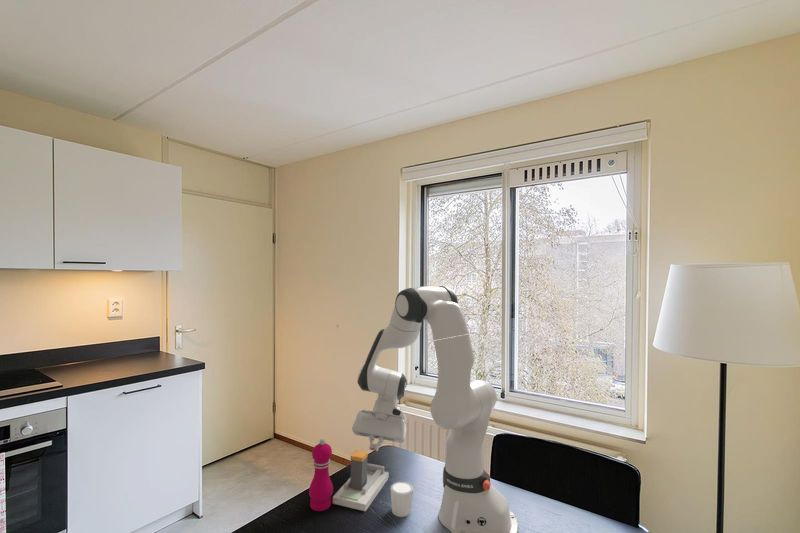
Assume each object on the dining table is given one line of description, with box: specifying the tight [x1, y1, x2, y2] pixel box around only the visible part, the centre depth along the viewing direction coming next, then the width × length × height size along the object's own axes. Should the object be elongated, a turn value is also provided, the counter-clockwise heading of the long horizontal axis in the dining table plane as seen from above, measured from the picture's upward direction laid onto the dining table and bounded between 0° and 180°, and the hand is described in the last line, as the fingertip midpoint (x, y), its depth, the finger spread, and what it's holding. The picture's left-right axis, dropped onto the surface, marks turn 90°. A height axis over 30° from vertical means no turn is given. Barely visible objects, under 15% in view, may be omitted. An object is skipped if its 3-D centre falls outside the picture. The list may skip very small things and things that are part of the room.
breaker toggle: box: [349, 450, 369, 490], centre depth 124 cm, size 4×4×10 cm
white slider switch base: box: [332, 462, 390, 512], centre depth 125 cm, size 11×20×4 cm, turn 161°
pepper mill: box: [308, 438, 334, 512], centre depth 117 cm, size 7×7×20 cm
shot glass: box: [390, 481, 414, 518], centre depth 115 cm, size 7×7×7 cm
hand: (373, 450), depth 136 cm, fingers closed
